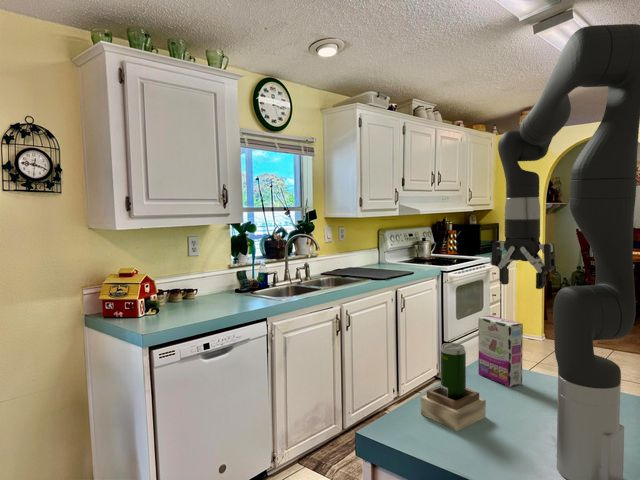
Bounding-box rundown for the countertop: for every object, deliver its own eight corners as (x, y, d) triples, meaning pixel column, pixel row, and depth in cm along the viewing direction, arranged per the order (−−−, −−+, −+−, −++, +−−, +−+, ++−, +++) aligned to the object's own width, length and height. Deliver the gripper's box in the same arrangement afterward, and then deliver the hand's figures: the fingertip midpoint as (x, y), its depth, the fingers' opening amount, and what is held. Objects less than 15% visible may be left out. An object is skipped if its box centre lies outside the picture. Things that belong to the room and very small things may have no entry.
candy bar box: (523, 384, 115) (524, 323, 114) (509, 388, 113) (510, 326, 112) (490, 370, 125) (490, 314, 124) (477, 374, 123) (477, 316, 122)
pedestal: (485, 417, 98) (485, 393, 98) (457, 431, 92) (457, 405, 92) (448, 401, 106) (448, 379, 106) (420, 414, 100) (420, 390, 100)
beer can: (454, 405, 95) (454, 351, 94) (435, 397, 100) (435, 345, 99) (470, 399, 98) (470, 347, 97) (451, 391, 103) (451, 341, 102)
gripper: (561, 216, 98) (560, 288, 100) (502, 216, 110) (502, 280, 111) (544, 218, 94) (544, 292, 95) (485, 217, 105) (485, 284, 107)
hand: (521, 286), depth 103 cm, fingers open, 8 cm apart
